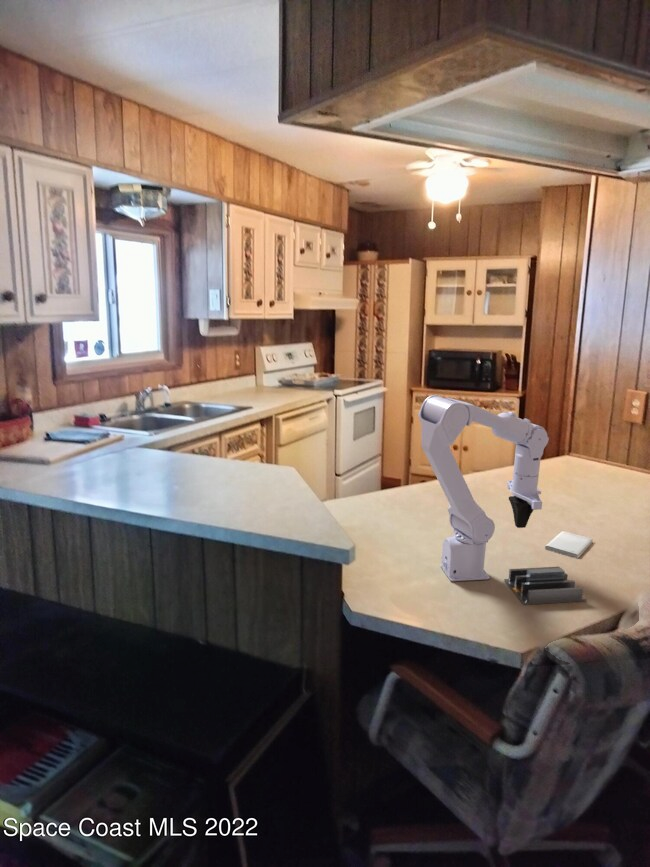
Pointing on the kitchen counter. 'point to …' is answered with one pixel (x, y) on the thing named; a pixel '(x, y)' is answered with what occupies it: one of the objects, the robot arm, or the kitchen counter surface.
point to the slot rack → (543, 589)
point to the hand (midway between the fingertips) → (520, 526)
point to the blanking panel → (545, 575)
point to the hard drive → (569, 544)
